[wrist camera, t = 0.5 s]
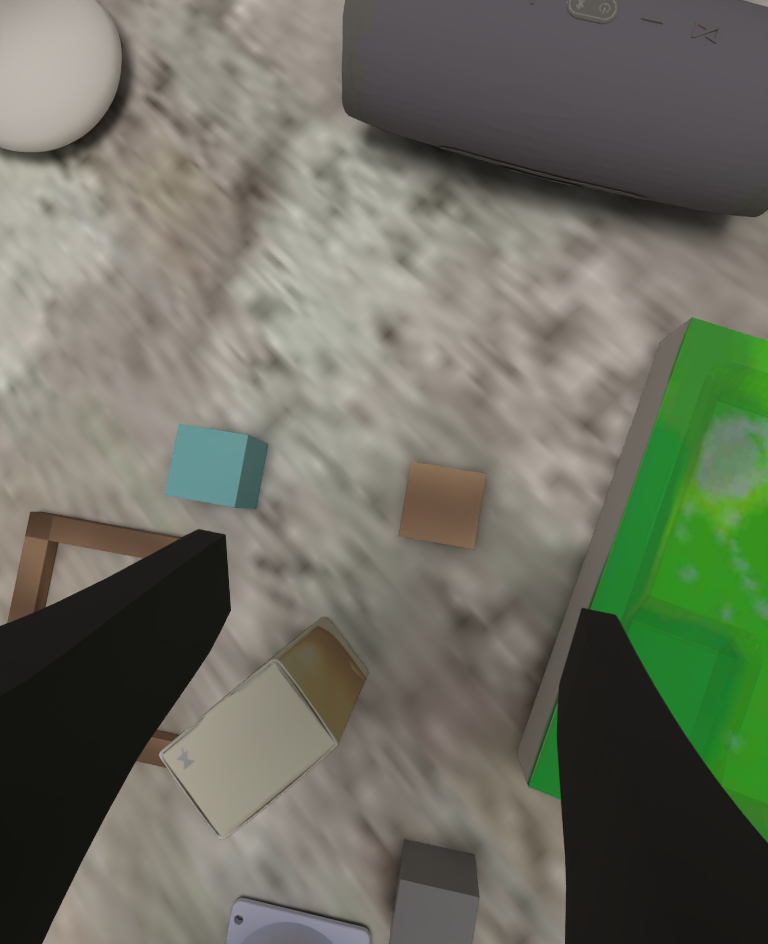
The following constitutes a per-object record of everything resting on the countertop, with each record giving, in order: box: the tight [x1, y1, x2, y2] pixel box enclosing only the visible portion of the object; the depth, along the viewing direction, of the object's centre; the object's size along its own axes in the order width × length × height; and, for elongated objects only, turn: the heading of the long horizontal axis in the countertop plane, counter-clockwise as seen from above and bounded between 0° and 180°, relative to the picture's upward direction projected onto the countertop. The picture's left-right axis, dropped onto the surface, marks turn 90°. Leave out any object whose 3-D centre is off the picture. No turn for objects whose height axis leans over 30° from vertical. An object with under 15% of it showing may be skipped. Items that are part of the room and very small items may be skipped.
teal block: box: [165, 424, 268, 509], centre depth 35 cm, size 4×4×4 cm
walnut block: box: [399, 462, 486, 549], centre depth 34 cm, size 4×4×4 cm
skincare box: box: [159, 617, 368, 840], centre depth 30 cm, size 6×4×12 cm
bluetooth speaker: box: [342, 0, 768, 217], centre depth 32 cm, size 23×9×10 cm, turn 72°
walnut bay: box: [7, 512, 182, 768], centre depth 37 cm, size 13×12×1 cm
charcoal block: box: [389, 839, 479, 944], centre depth 32 cm, size 4×4×4 cm
